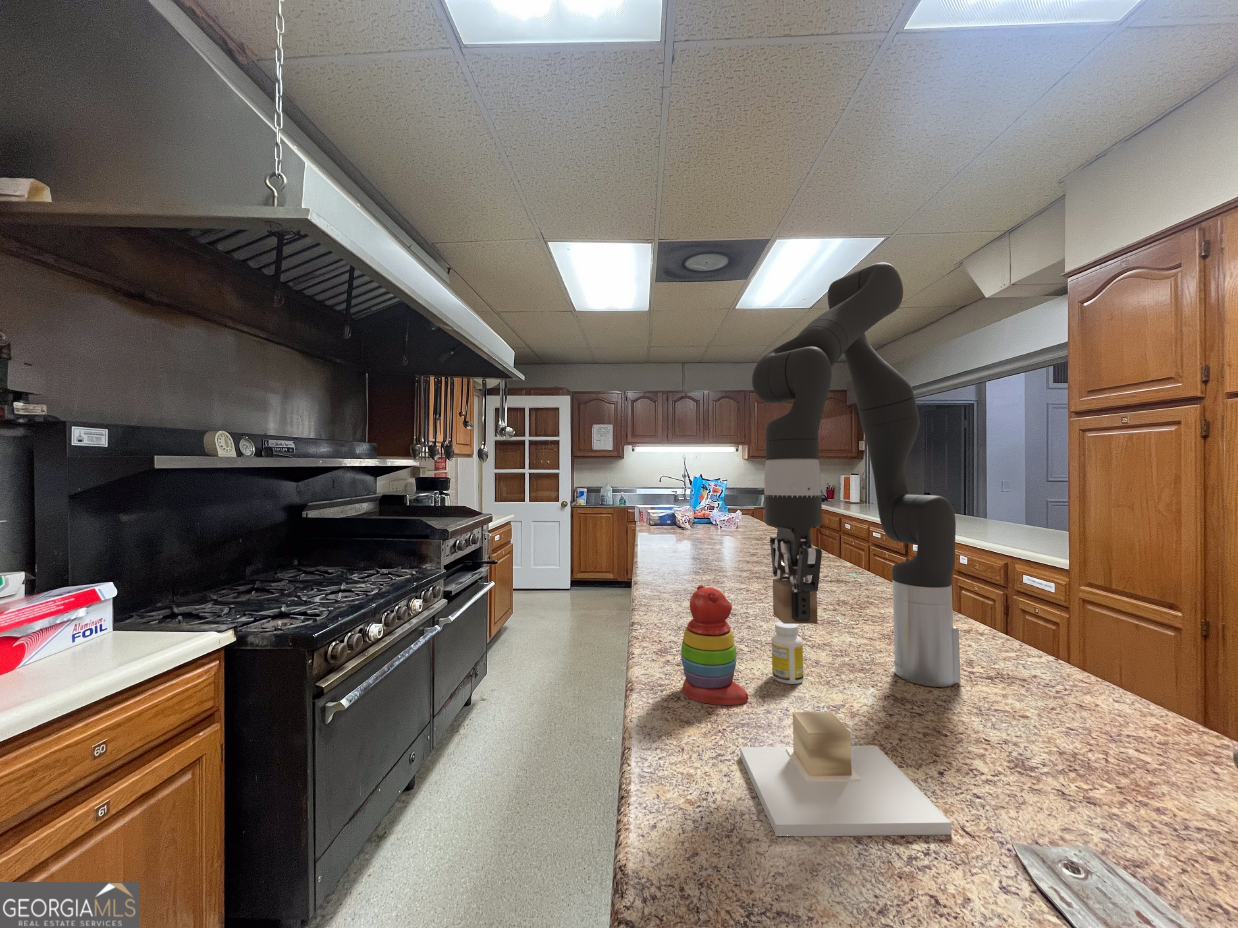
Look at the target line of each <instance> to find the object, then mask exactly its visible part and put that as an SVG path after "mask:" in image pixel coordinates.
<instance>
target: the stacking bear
mask: <svg viewBox="0 0 1238 928" xmlns="http://www.w3.org/2000/svg"><path fill="white" fill-rule="evenodd" d="M689 610H690V613H691V614H690V615H691V617H692V619H691V620H689V622H688V624H687V626H686V627H685V629H684V632H683V639H682V640H681V647H680V648H681V649H680V650H681V651H680V652H681V653H680V656H681V665H682V667H683V673H684V676H685V677H684V678H685V679H684V681H683V685H682V691H683V694H684V695H685V696H687V697H688V698H689V699H691V700H693V701H696V702H699V703H702V704H703V703H704V704H709V705H710V704H711V705H719V706H735V705H743V704H747V701H748V700H749V693H748V692H747V691H746V689H745V688H743V687H742V686H741V685H739V684H738V683H737V682H735V681H734V677H735V670H736V667H737V660H738V659H737V656H738V655H737V654H738V653H737V648H736V647H737V645H736V643H735V639H734V635H733V634H734V633H733V631H732V627H731V626H730V623H728V622H727V619H728V618H729V617H730V615H731V613H732V610H733V604H732V603H731V602H730V601H729V600H728V599H727V598H726V596H725V594H724V593H723V592H722V591H720V589H717V588H715V587H704V585H703V584H700V585H698V586H697V588H696V591H694V592H693V594H692V595H691V597H690V599H689Z"/></svg>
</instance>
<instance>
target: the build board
mask: <svg viewBox="0 0 1238 928" xmlns="http://www.w3.org/2000/svg"><path fill="white" fill-rule="evenodd" d="M739 755H740V760H741V761H742V763H743V767H744V768H745V770H746V773H747V775H748V777H749V779H750V781H751V783H752V786H753V789H754V790H755V793H756V795H757V796H758V800H759V802H760V803H761V806H762V808H763V810H764V813H765V816H766V818H767V820H768V822H769V824H770V826H771V828H773V829H772V831H773V830H774V831H773V832H775V833H774V835H775V837H776V836H780V835H781V836H787V835H788V836H794V837H847V836H848V837H854V836H855V837H861V836H863V837H864V836H929V835H930V836H933V835H934V836H935V835H937V836H938V835H943V836H945V835H952V834H953V833H952V832H953V830H952V828H953V827H952V822H951V820H950V819H948V817H947V816H946V815H945V814H944V813H943V812H942V811H941V810H940V809H939V808H938V807H937V805H935V804H934V803H933V802H932V801H931V800H930V799H929V798H928V797H927V796H926V795H925V794H924V793H923V792H922V790H920V789H919V787H917V786H916V785H915V784H914V783H913V781H911V779H910V778H909V777H908V776H907V775H906V774H905V773H903V771H902V770H901V769H900V768H899V767H898V766H897V765H896V764H895V763H894V762H893V761H892V760H891V759H890V758H889V757H888V755H886V754H885V753H884V752H883V751H882V749H880V748H879V746H878V745H851V765H852V776H809V775H808V773H807V772H806V770H805V768H804V767H803V765H802V764H801V762H800V761H799V759H798V758H797V756H796V755H795V753H794V750H793V746H740V747H739Z"/></svg>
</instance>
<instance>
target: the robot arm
mask: <svg viewBox="0 0 1238 928" xmlns="http://www.w3.org/2000/svg"><path fill="white" fill-rule="evenodd" d="M900 275H901V274H900V273H899V272H898V270H897V269H896V267H895V266H893V265H892V264H890V263H889V262H877V263H873V264H870V265H868V266H865V267H863V268H862V269H859V270H856V271H854V272H852V273H850V274H847V275H844V276H842V277H840V278H838V279H836V280H834V281H832V282H831V284H830V285H829V287H828V290H827V304H828V310H825V311H824V312H823V313H821V314H820V315H817V316H816V318H814V319H813V320H812V321H810V322H809V323H808V324H807V325H806V326H805V327H804V328H803V329H802V330H801V331H800V332H798V334H797V335H796V336H795V337H793V338H791V339H790V340H788V341H786V342H784V343H782V344H780V345H779V346H777V347H775V348H774V349H772V350H770V351H768V353H767V352H766V354H765V355H763V356H762V358H761V357H760V359H759V360H758V362H757V364H756V365H755V367H754V369H753V372H752V376H751V377H752V378H751V383H752V384H751V385H752V389H753V392H754V393H755V396H757V398H759V399H760V400H761V401H763V402H765V403H768V404H781V403H787V402H788V403H789V402H793V403H792V406H791V407H790V409H789V411H788V412H787V413H786V414H785V415H783V416H780V417H778V418H775V419H773V420H771V421H769V422H768V423H767V425H766V427H765V460H766V461H765V469H764V480H763V482H764V483H763V486H764V491H763V492H764V493H763V494H764V524H765V525H766V526H767V527H772V528H777V532H776V536H770V537H769V547H770V555H771V556H770V557H771V565H772V575H773V577H776V579H790V582H791V590H792V618H793V620H795V621H796V622H808V621H809V620H810V593H812V592H813V591H817V592H818V591H819V583H820V575H821V574H820V573H821V566H822V555H823V551H822V549H821V547H813V546H814V545H813V541H812V538H811V532H810V530H811V529H816V528H819V527H821V526H822V524H823V511H822V510H823V508H822V502H823V499H822V498H823V497H822V474H821V473H822V472H821V467H820V453H819V452H820V449H819V447H820V445H819V430H820V425H821V421H822V419H823V418H822V416H823V413H824V410H825V409H824V408H825V405H826V402H827V401H826V400H827V398H828V394H829V391H830V387H831V383H832V367H833V366H834V365H835V364H836V363H837V362H838V360H839V359H840V358H841V357H842V356H844V357H845V361H846V365H847V368H848V371H849V376H850V379H851V385H852V387H853V392H854V396H855V398H854V399H855V402H856V407H857V412H858V415H859V420H860V424H861V428H862V432H863V434H864V437H865V442H866V445H867V450H868V455H869V459H870V464H871V469H872V473H873V481H874V488H875V495H876V497H875V498H876V504H877V510H878V517H879V521H880V524H881V527H882V530H883V532H884V534H885V535H886V537H887V538H888V539H890V540H891V541H893V542H897V543H901V544H909V545H916V546H917V548H916V554H915V556H914V558H911V559H909V560H906V561H900V562H897V563H895V564H894V565H893V566H892V569H891V577H892V582H891V583H892V610H893V616H892V617H893V618H892V619H893V644H894V646H893V647H894V653H893V654H894V673H895V674H896V675H897V676H898V677H900V678H901V679H903V680H905V681H907V682H911V683H915V684H917V685H921V686H926V687H935V688H946V687H951V686H953V685H954V684H961V680H962V679H961V652H960V650H961V649H960V630H959V629H958V627H956V626H954V617H953V616H954V614H953V611H954V610H953V590H952V589H953V586H952V584H953V583H952V581H953V579H952V578H953V574H954V573H953V572H954V569H955V564H956V537H957V536H956V534H957V533H956V529H957V525H956V524H957V522H956V521H957V520H956V515H955V510H954V507H953V506H952V504H951V502H950V501H949V500H948V499H947V498H945V497H943V496H942V495H933V494H930V495H928V494H910V492H909V489H908V485H907V484H908V483H907V480H906V479H907V478H906V465H907V460H908V458H909V455H910V452H911V450H912V448H913V446H914V444H915V442H916V440H917V439H916V438H917V436H918V432H919V429H920V424H921V422H920V414H919V410H918V404H917V402H916V398H915V394H914V390H913V388H912V385H911V384H910V382H909V381H908V380H907V379H906V378H905V377H904V376H903V375H902V374H901V373H900V372H899V371H897V369H895V368H894V367H893V366H892V365H890V364H889V363H888V362H887V361H885V359H883V358H882V357H881V356H880V354H879V353H877V351H876V350H875V348H873V347H872V345H871V343H870V341H869V338H868V337H867V334H866V332H867V331H868V330H870V329H871V328H873V327H874V326H876V324H877V323H879V322H880V321H882V320H883V319H884V318H886V317H888V316H890V315H891V314H893V313H894V312H896V311H897V310H898V308H899V307H900V306H901V304H902V302H903V298H904V287H903V282H902V278H901V276H900ZM804 579H805V582H804Z"/></svg>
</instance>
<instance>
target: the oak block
mask: <svg viewBox="0 0 1238 928" xmlns="http://www.w3.org/2000/svg"><path fill="white" fill-rule="evenodd" d="M851 736H852V734H851V731H850V730H849V729H848V728H847V727H846V726H845V725H844V723H842V721H841V720H840V719H839V718H838V717H837V716H836V715H835V714H834V713H833V712H832V711H801V712H799V711H795V712H794V711H793V712H792V743H793V744H792V745H793V746H792V747H793V750H794V753H795V755H796V756H797V758H798V759H799V761H800V762H801V764H802V765H803V767H804V768H805V770H806V772H807V773H808V775H809V776H852V765H851V746H852V737H851Z"/></svg>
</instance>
